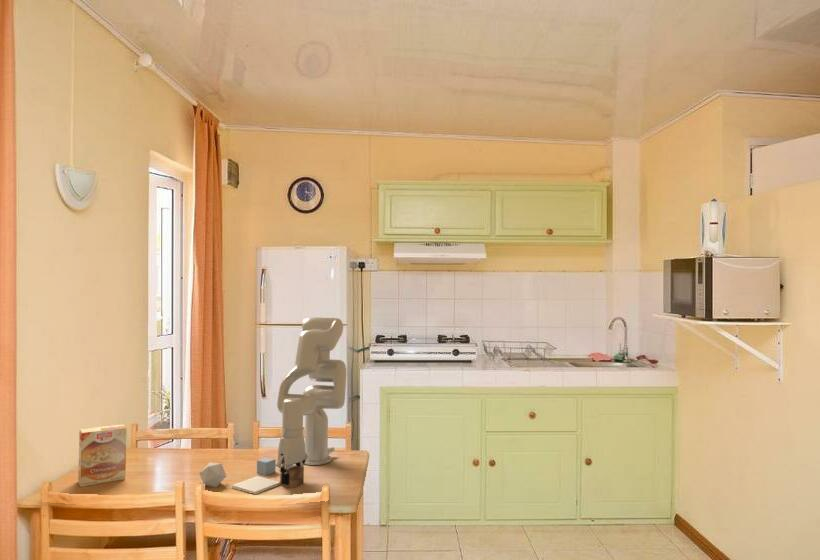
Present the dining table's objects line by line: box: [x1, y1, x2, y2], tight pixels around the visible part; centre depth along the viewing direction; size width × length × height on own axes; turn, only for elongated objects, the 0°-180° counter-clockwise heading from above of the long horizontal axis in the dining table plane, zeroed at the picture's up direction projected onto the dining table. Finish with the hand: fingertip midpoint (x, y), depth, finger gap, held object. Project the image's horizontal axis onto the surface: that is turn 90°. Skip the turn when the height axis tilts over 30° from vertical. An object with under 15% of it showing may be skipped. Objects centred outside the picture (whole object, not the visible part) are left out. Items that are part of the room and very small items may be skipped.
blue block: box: [256, 456, 277, 476], centre depth 220 cm, size 5×5×5 cm
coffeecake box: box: [77, 423, 127, 488], centre depth 209 cm, size 15×7×20 cm, turn 126°
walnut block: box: [279, 464, 305, 489], centre depth 206 cm, size 6×6×6 cm
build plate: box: [231, 475, 281, 495], centre depth 204 cm, size 12×12×1 cm
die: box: [199, 461, 227, 488], centre depth 205 cm, size 8×9×10 cm
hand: (291, 481), depth 206 cm, fingers closed on walnut block, 6 cm apart
